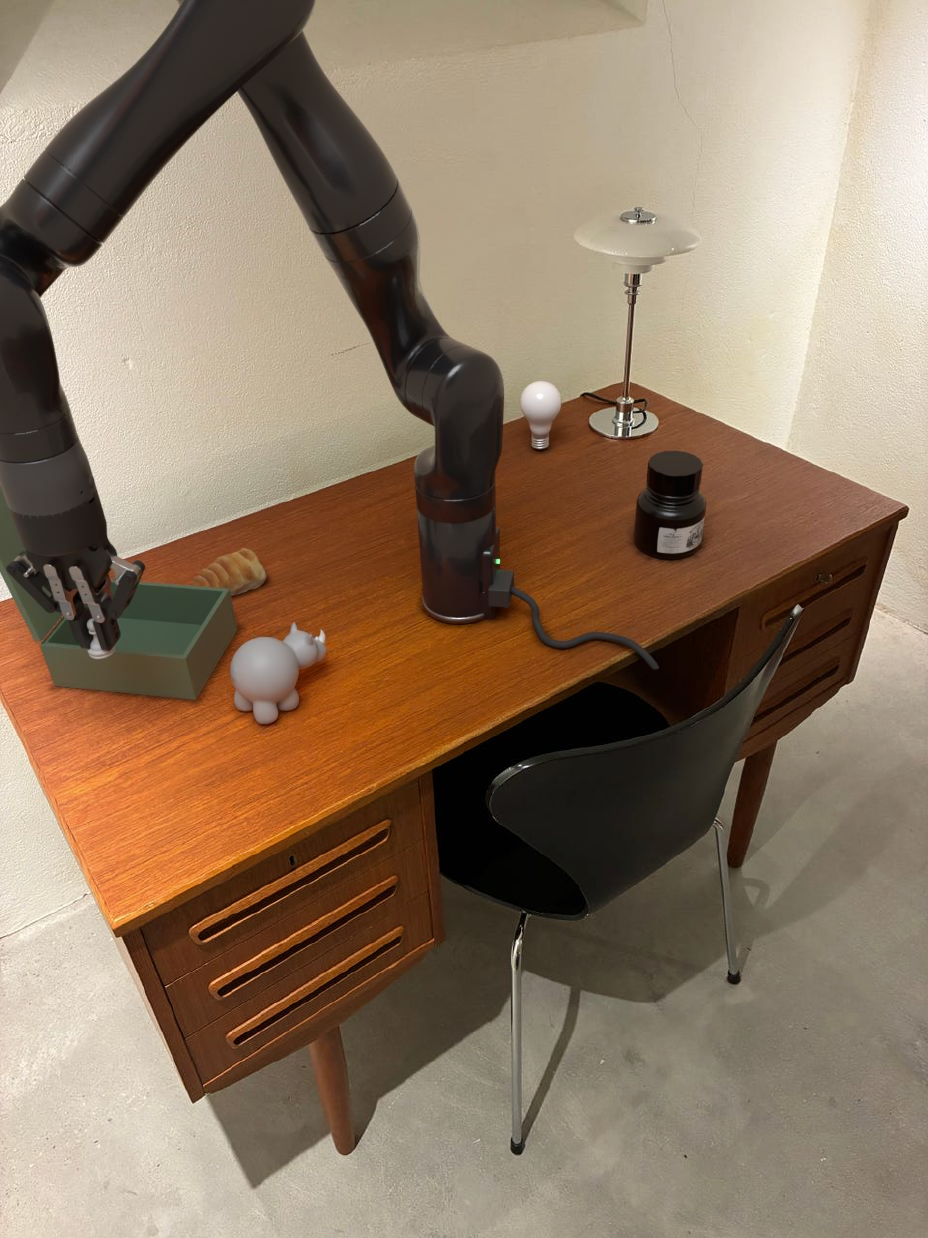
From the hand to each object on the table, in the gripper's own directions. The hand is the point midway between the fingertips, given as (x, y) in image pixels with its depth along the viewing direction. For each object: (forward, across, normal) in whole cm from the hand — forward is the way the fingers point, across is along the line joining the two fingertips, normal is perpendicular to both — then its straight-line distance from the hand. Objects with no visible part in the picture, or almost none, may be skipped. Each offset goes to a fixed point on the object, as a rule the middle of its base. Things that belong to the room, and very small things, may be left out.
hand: (100, 644), depth 98 cm
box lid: (-2, -14, +14) cm, 19 cm away
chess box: (+13, -4, +14) cm, 19 cm away
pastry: (+13, 0, +29) cm, 32 cm away
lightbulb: (+13, +35, +71) cm, 81 cm away
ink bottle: (+13, +55, +46) cm, 73 cm away
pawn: (+1, 0, 0) cm, 1 cm away
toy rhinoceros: (+13, +14, +10) cm, 22 cm away
